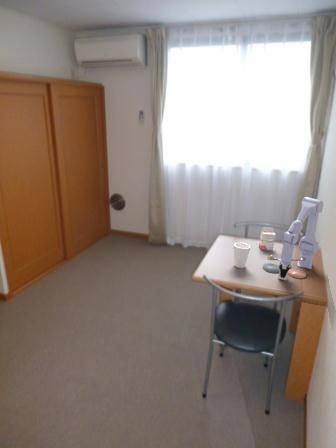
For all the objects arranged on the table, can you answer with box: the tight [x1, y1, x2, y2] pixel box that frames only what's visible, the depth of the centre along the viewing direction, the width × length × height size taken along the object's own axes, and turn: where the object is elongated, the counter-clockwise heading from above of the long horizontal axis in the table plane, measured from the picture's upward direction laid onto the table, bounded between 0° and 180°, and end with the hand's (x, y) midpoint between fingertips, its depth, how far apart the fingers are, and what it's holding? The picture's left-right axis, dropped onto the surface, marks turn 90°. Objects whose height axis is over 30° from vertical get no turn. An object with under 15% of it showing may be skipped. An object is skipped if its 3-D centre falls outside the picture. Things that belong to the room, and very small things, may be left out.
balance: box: [266, 254, 306, 268], centre depth 195 cm, size 5×22×8 cm, turn 67°
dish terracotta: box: [288, 268, 307, 279], centre depth 187 cm, size 10×10×1 cm
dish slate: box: [262, 263, 280, 274], centre depth 192 cm, size 10×10×1 cm
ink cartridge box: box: [258, 226, 277, 251], centre depth 218 cm, size 9×5×15 cm, turn 92°
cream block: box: [277, 270, 289, 281], centre depth 181 cm, size 5×5×6 cm
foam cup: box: [233, 242, 251, 269], centre depth 192 cm, size 10×9×13 cm
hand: (283, 275), depth 181 cm, fingers closed on cream block, 5 cm apart
